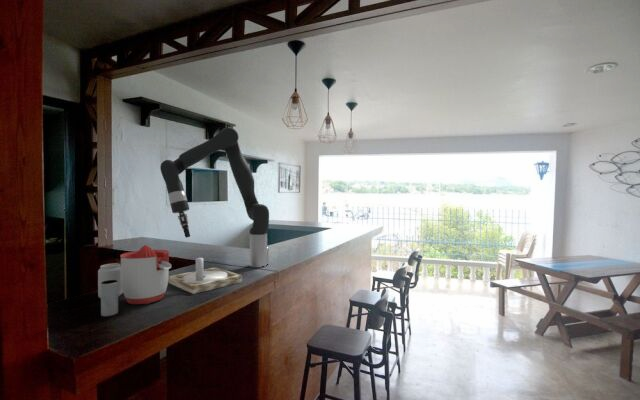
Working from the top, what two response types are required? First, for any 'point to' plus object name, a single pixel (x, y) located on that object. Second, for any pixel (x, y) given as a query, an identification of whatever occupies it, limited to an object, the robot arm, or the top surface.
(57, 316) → the top surface
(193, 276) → the dial
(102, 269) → the can
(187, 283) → the dial housing
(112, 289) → the grey tall cylinder
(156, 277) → the citrus juicer
